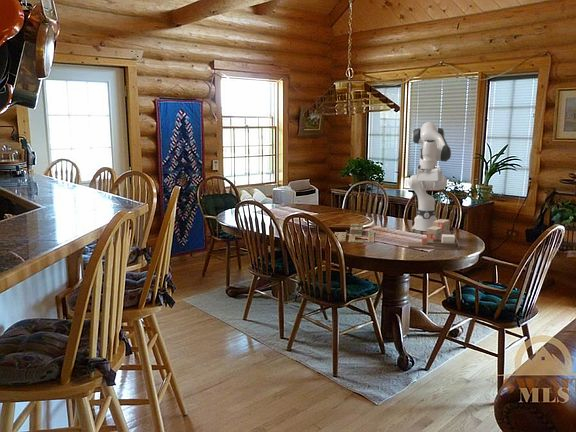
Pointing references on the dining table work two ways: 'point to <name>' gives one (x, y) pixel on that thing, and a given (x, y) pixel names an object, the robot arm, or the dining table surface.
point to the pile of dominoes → (355, 234)
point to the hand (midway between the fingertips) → (429, 188)
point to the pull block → (444, 239)
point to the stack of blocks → (438, 229)
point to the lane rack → (435, 245)
